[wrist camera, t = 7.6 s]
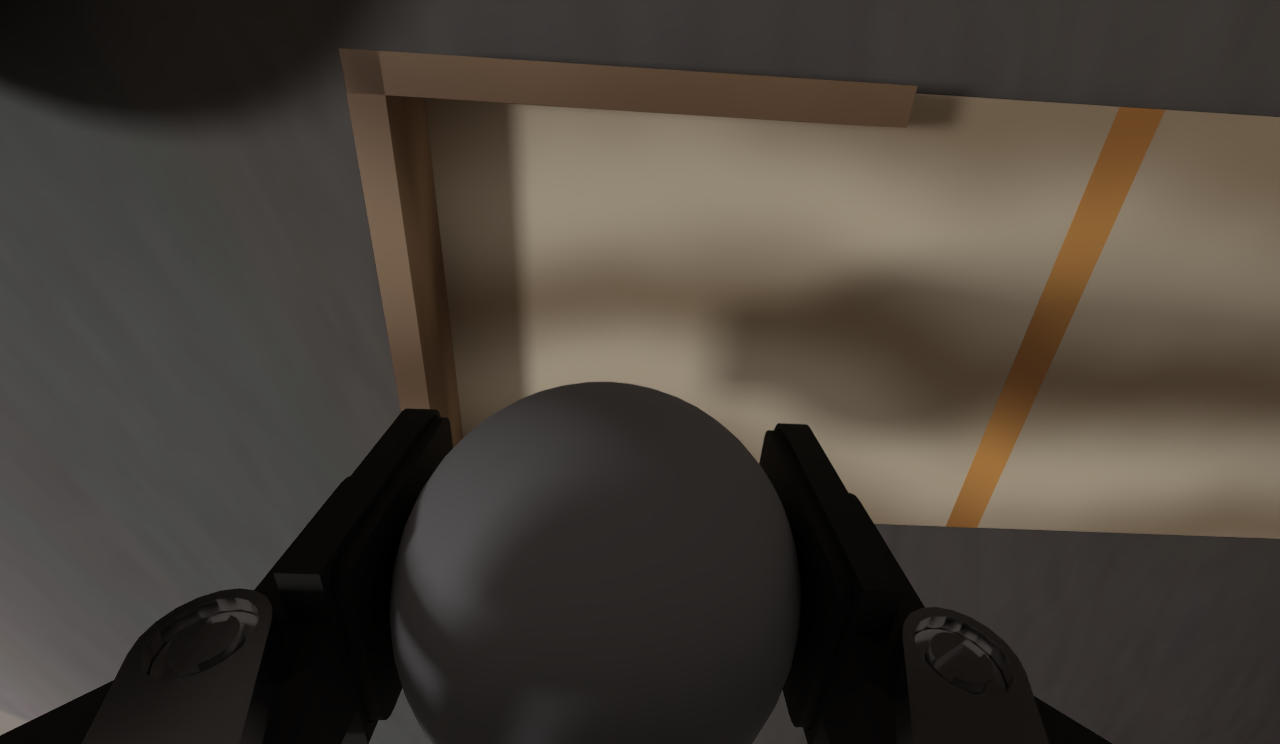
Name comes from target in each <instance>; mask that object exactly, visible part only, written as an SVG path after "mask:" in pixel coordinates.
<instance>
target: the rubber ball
mask: <svg viewBox="0 0 1280 744" xmlns="http://www.w3.org/2000/svg"><path fill="white" fill-rule="evenodd" d="M800 612H801V579H800V570H799V561H798V556H797V551H796V546H795V541H794V537H793V534H792V530H791V527H790V524H789V521H788V518H787V515H786V513H785V510H784V508H783V505H782V503H781V501H780V499H779V497H778V495H777V493H776V491H775V489H774V487H773V485H772V483H771V482H770V480H769V478H768V477H767V475H766V473H765V472H764V470H763V468H762V467H761V466H760V464H759V463H758V462H757V461H756V459H755V458H754V457H753V456H752V454H751V453H750V452H749V451H748V450H747V448H746V447H745V446H744V445H743V444H742V442H741V441H740V440H739V439H738V438H737V437H736V436H734V435H733V434H732V433H731V432H730V431H729V430H728V429H727V428H725V427H724V426H723V425H722V424H721V423H719V422H718V421H717V420H715V419H714V418H713V417H711V416H710V415H708V414H707V413H705V412H704V411H702V410H701V409H699V408H698V407H696V406H694V405H692V404H690V403H688V402H686V401H684V400H682V399H680V398H678V397H676V396H673V395H670V394H667V393H664V392H661V391H658V390H656V389H652V388H648V387H643V386H639V385H634V384H628V383H618V382H585V383H577V384H570V385H563V386H559V387H555V388H551V389H547V390H544V391H540V392H537V393H535V394H532V395H530V396H527V397H525V398H522V399H520V400H518V401H516V402H514V403H512V404H511V405H509V406H507V407H505V408H503V409H502V410H500V411H498V412H496V413H495V414H493V415H491V416H490V417H488V418H487V419H486V420H484V421H483V422H482V423H480V424H479V425H478V426H476V427H475V428H474V429H472V430H471V431H470V432H469V433H468V434H467V435H466V436H465V437H464V438H463V439H462V440H461V441H460V442H459V443H458V444H457V445H456V446H455V447H454V448H453V449H452V450H451V451H450V452H449V453H448V454H447V455H446V456H445V457H444V459H443V460H442V461H441V463H440V464H439V466H438V467H437V469H436V470H435V471H434V473H433V474H432V476H431V477H430V479H429V480H428V481H427V483H426V484H425V486H424V487H423V489H422V490H421V492H420V494H419V496H418V498H417V500H416V503H415V505H414V507H413V509H412V511H411V513H410V516H409V518H408V520H407V522H406V524H405V527H404V529H403V532H402V536H401V540H400V544H399V548H398V551H397V555H396V559H395V563H394V567H393V571H392V583H391V596H390V612H389V617H390V628H391V638H392V646H393V654H394V660H395V663H396V667H397V670H398V674H399V677H400V681H401V684H402V687H403V690H404V693H405V696H406V699H407V701H408V703H409V705H410V707H411V709H412V711H413V713H414V715H415V717H416V719H417V721H418V723H419V725H420V727H421V728H422V730H423V732H424V734H425V735H426V737H427V738H428V739H429V741H430V742H431V743H432V744H752V742H753V741H754V740H755V738H756V737H757V735H758V733H759V732H760V730H761V729H762V727H763V726H764V724H765V722H766V721H767V719H768V718H769V716H770V714H771V713H772V711H773V709H774V708H775V706H776V704H777V701H778V699H779V696H780V694H781V691H782V689H783V686H784V684H785V682H786V679H787V676H788V674H789V671H790V669H791V665H792V661H793V656H794V652H795V647H796V643H797V638H798V632H799V627H800Z"/></svg>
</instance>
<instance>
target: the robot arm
mask: <svg viewBox="0 0 1280 744" xmlns="http://www.w3.org/2000/svg"><path fill="white" fill-rule="evenodd" d="M452 449H453V442H452V434H451V425H450V421H449V419H448V418H447V417H441V415H440V413H439V411H438V410H436V409H411V408H407V409H404V410H403V411H402V412H401V413H400V415H399V416H398V417H397V419H396V420H395V421H394V422H393V424H392V425H391V426H390V427H389V429H388V430H387V431H386V432H385V434H384V435H383V436H382V437H381V439H380V440H379V441H378V442H377V444H376V445H375V446H374V447H373V449H372V450H371V451H370V452H369V454H368V455H367V456H366V457H365V459H364V460H363V461H362V462H361V464H360V465H359V466H358V467H357V469H356V470H355V471H354V472H353V474H352V475H351V476H350V477H347V478H346V479H345V480H344V481H343V482H342V483H341V484H340V485H339V486H338V487H337V489H336V490H335V491H334V492H333V494H332V495H331V496H330V497H329V498H328V500H327V501H326V502H325V503H324V505H323V506H322V507H321V508H320V510H319V511H318V512H317V513H316V515H315V516H314V517H313V518H312V519H311V521H310V522H309V523H308V524H307V526H306V527H305V528H304V529H303V531H302V532H301V533H300V534H299V536H298V537H297V538H296V539H295V540H294V542H293V543H292V544H291V545H290V547H289V548H288V549H287V550H286V552H285V553H284V554H283V555H282V557H281V558H280V559H279V560H278V562H277V563H276V564H275V565H274V566H273V568H272V569H271V570H270V571H269V573H268V574H267V575H266V576H265V578H264V579H263V580H262V581H261V583H260V584H259V585H258V586H257V587H256V589H255V590H248V589H231V590H223V591H218V592H215V593H211V594H208V595H205V596H202V597H199V598H196V599H194V600H192V601H190V602H188V603H186V604H184V605H182V606H180V607H178V608H176V609H174V610H173V611H171V612H170V613H168V614H167V615H165V616H164V617H162V618H161V619H159V620H158V621H156V622H155V623H154V624H153V625H152V626H151V627H150V628H149V629H148V630H147V631H146V632H145V633H143V634H142V635H141V636H140V637H139V638H138V640H137V641H136V643H135V644H134V646H133V647H132V648H131V650H130V651H129V653H128V654H127V656H126V658H125V660H124V662H123V664H122V666H121V668H120V670H119V672H118V674H117V676H116V678H115V679H114V680H113V681H111V682H109V683H107V684H105V685H103V686H101V687H99V688H97V689H95V690H93V691H91V692H89V693H87V694H85V695H83V696H80V697H78V698H76V699H74V700H72V701H70V702H68V703H66V704H64V705H62V706H60V707H58V708H56V709H54V710H52V711H50V712H48V713H46V714H44V715H42V716H40V717H38V718H35V719H33V720H31V721H29V722H27V723H25V724H23V725H21V726H19V727H17V728H15V729H13V730H11V731H9V732H7V733H5V734H3V735H1V736H0V744H368V743H369V741H370V739H371V736H372V734H373V732H374V729H375V727H376V725H377V722H378V720H386V719H388V718H389V716H390V715H391V713H392V711H393V709H394V707H395V704H396V702H397V700H398V697H399V695H400V692H401V690H402V684H401V681H400V677H399V674H398V670H397V667H396V663H395V660H394V654H393V646H392V638H391V628H390V617H389V612H390V596H391V583H392V571H393V567H394V563H395V559H396V555H397V551H398V548H399V544H400V540H401V536H402V532H403V529H404V527H405V524H406V522H407V520H408V518H409V516H410V513H411V511H412V509H413V507H414V505H415V503H416V500H417V498H418V496H419V494H420V492H421V490H422V489H423V487H424V486H425V484H426V483H427V481H428V480H429V479H430V477H431V476H432V474H433V473H434V471H435V470H436V469H437V467H438V466H439V464H440V463H441V461H442V460H443V459H444V457H445V456H446V455H447V454H448V453H449V452H450V451H451V450H452ZM759 464H760V466H761V467H762V468H763V470H764V472H765V473H766V475H767V477H768V478H769V480H770V482H771V483H772V485H773V487H774V489H775V491H776V493H777V495H778V497H779V499H780V501H781V503H782V505H783V508H784V510H785V513H786V515H787V518H788V521H789V524H790V527H791V530H792V534H793V537H794V541H795V546H796V551H797V556H798V561H799V570H800V579H801V612H800V627H799V632H798V638H797V643H796V647H795V652H794V656H793V661H792V665H791V669H790V671H789V674H788V676H787V679H786V682H785V684H784V686H783V693H784V697H785V700H786V704H787V708H788V712H789V715H790V718H791V721H792V723H793V725H794V726H795V727H803V729H804V732H805V736H806V739H807V743H808V744H1112V743H1110V742H1109V741H1107V740H1105V739H1104V738H1102V737H1100V736H1099V735H1097V734H1095V733H1094V732H1092V731H1091V730H1089V729H1087V728H1086V727H1084V726H1082V725H1081V724H1079V723H1077V722H1076V721H1074V720H1072V719H1071V718H1069V717H1067V716H1066V715H1064V714H1063V713H1061V712H1059V711H1058V710H1056V709H1054V708H1053V707H1051V706H1049V705H1048V704H1046V703H1044V702H1043V701H1041V700H1040V699H1038V698H1036V697H1035V696H1034V695H1033V692H1032V689H1031V686H1030V683H1029V680H1028V677H1027V674H1026V672H1025V670H1024V668H1023V666H1022V664H1021V662H1020V660H1019V658H1018V657H1017V656H1016V654H1015V653H1014V652H1013V651H1012V650H1011V648H1010V647H1009V646H1008V645H1007V644H1006V642H1005V641H1003V640H1002V639H1001V638H1000V637H999V636H998V635H996V634H995V633H994V632H993V631H992V630H990V629H989V628H988V627H986V626H984V625H983V624H981V623H979V622H978V621H976V620H974V619H973V618H971V617H969V616H966V615H963V614H961V613H958V612H956V611H953V610H949V609H943V608H938V607H930V608H925V607H924V605H923V604H922V602H921V600H920V599H919V597H918V595H917V594H916V592H915V591H914V589H913V587H912V586H911V584H910V582H909V581H908V579H907V577H906V576H905V574H904V572H903V571H902V569H901V567H900V566H899V564H898V563H897V561H896V559H895V558H894V556H893V554H892V553H891V551H890V549H889V548H888V546H887V544H886V543H885V541H884V540H883V538H882V536H881V535H880V533H879V531H878V530H877V528H876V526H875V525H874V523H873V521H872V520H871V518H870V516H869V515H868V513H867V512H866V510H865V508H864V507H863V505H862V503H861V502H860V500H859V499H858V498H857V497H856V495H854V494H852V493H848V491H847V489H846V488H845V486H844V484H843V482H842V481H841V479H840V477H839V476H838V474H837V472H836V471H835V469H834V467H833V466H832V464H831V462H830V460H829V459H828V457H827V455H826V454H825V452H824V450H823V449H822V447H821V445H820V443H819V442H818V440H817V438H816V437H815V435H814V433H813V432H812V430H811V428H810V427H809V426H808V425H806V424H785V423H778V424H777V425H776V427H775V429H774V430H767V431H766V433H765V436H764V441H763V446H762V452H761V457H760V462H759Z"/></svg>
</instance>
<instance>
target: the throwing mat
mask: <svg viewBox="0 0 1280 744" xmlns="http://www.w3.org/2000/svg"><path fill="white" fill-rule="evenodd" d="M339 53H340V58H341V64H342V70H343V76H344V82H345V88H346V93H347V99H348V105H349V111H350V117H351V122H352V128H353V134H354V140H355V146H356V152H357V157H358V163H359V169H360V175H361V181H362V187H363V192H364V198H365V204H366V210H367V216H368V221H369V227H370V233H371V239H372V245H373V251H374V256H375V262H376V268H377V274H378V280H379V286H380V291H381V297H382V303H383V309H384V315H385V320H386V326H387V332H388V338H389V344H390V350H391V355H392V361H393V367H394V373H395V379H396V384H397V390H398V396H399V402H400V408H401V412H402V411H403V410H404V409H407V408H411V409H436V410H438V411H439V413H440V415H441V417H447V418H448V419H449V421H450V425H451V434H452V442H453V448H454V447H455V446H456V445H457V444H458V443H459V442H460V441H461V440H462V439H463V438H464V437H465V436H466V435H467V434H468V433H469V432H470V431H471V430H472V429H474V428H475V427H476V426H478V425H479V424H480V423H482V422H483V421H484V420H486V419H487V418H488V417H490V416H491V415H493V414H495V413H496V412H498V411H500V410H502V409H503V408H505V407H507V406H509V405H511V404H512V403H514V402H516V401H518V400H520V399H522V398H525V397H527V396H530V395H532V394H535V393H537V392H540V391H544V390H547V389H551V388H555V387H559V386H563V385H570V384H577V383H585V382H618V383H628V384H634V385H639V386H643V387H648V388H652V389H656V390H658V391H661V392H664V393H667V394H670V395H673V396H676V397H678V398H680V399H682V400H684V401H686V402H688V403H690V404H692V405H694V406H696V407H698V408H699V409H701V410H702V411H704V412H705V413H707V414H708V415H710V416H711V417H713V418H714V419H715V420H717V421H718V422H719V423H721V424H722V425H723V426H724V427H725V428H727V429H728V430H729V431H730V432H731V433H732V434H733V435H734V436H736V437H737V438H738V439H739V440H740V441H741V442H742V444H743V445H744V446H745V447H746V448H747V450H748V451H749V452H750V453H751V454H752V456H753V457H754V458H755V459H756V461H757V462H758V463H759V462H760V457H761V452H762V446H763V441H764V436H765V433H766V431H767V430H774V429H775V427H776V425H777V424H778V423H785V424H806V425H808V426H809V427H810V428H811V430H812V432H813V433H814V435H815V437H816V438H817V440H818V442H819V443H820V445H821V447H822V449H823V450H824V452H825V454H826V455H827V457H828V459H829V460H830V462H831V464H832V466H833V467H834V469H835V471H836V472H837V474H838V476H839V477H840V479H841V481H842V482H843V484H844V486H845V488H846V489H847V491H848V493H852V494H854V495H856V497H857V498H858V499H859V500H860V502H861V503H862V505H863V507H864V508H865V510H866V512H867V513H868V515H869V516H870V518H871V520H872V521H873V523H874V524H896V525H923V526H946V527H972V528H1004V529H1032V530H1059V531H1086V532H1113V533H1140V534H1168V535H1195V536H1222V537H1249V538H1276V539H1280V117H1269V116H1254V115H1238V114H1223V113H1207V112H1192V111H1177V110H1162V109H1146V108H1131V107H1115V106H1099V105H1084V104H1069V103H1053V102H1038V101H1022V100H1007V99H992V98H976V97H961V96H945V95H930V94H916V90H917V86H911V85H895V84H880V83H865V82H849V81H834V80H819V79H804V78H788V77H773V76H758V75H742V74H727V73H712V72H696V71H681V70H666V69H651V68H635V67H620V66H605V65H589V64H574V63H559V62H544V61H528V60H513V59H498V58H482V57H467V56H452V55H437V54H421V53H406V52H391V51H375V50H360V49H345V48H339Z"/></svg>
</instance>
